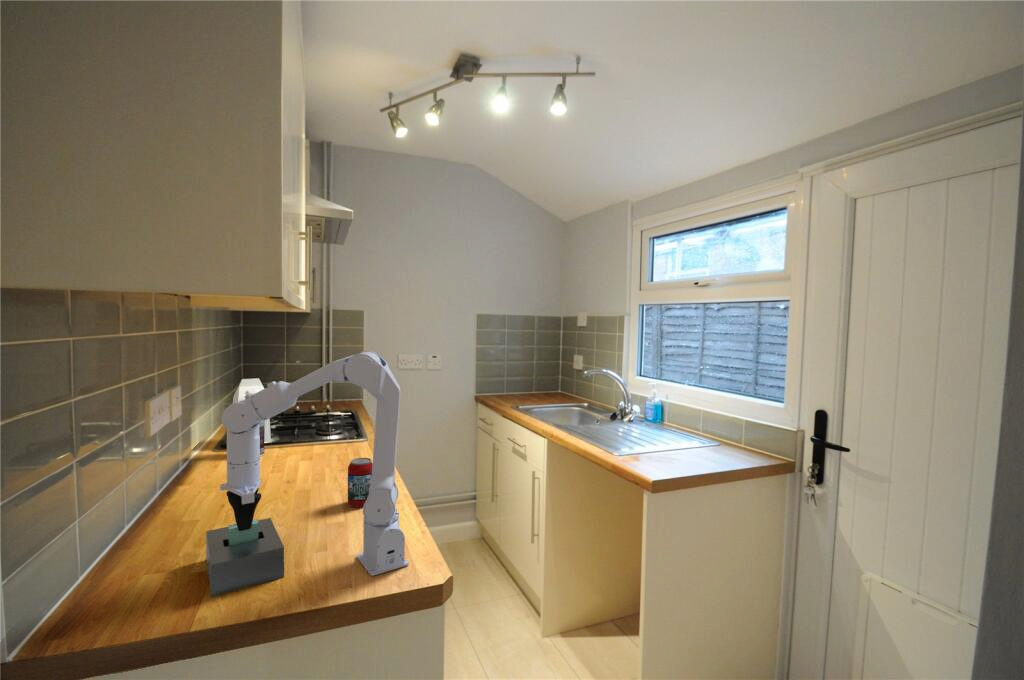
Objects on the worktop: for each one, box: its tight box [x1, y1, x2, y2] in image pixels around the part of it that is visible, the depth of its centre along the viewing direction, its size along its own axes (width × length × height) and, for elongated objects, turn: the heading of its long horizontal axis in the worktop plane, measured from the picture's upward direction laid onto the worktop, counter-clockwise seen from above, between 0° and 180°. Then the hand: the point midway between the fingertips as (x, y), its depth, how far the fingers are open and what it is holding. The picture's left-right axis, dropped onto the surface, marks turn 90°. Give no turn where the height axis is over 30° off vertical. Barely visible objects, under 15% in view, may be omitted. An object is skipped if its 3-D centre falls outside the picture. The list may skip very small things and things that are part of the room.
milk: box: [232, 377, 272, 443], centre depth 184 cm, size 12×12×26 cm
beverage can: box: [347, 457, 373, 508], centre depth 128 cm, size 7×7×12 cm
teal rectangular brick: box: [228, 519, 258, 546], centre depth 94 cm, size 2×5×4 cm, turn 126°
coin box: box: [205, 517, 285, 598], centre depth 94 cm, size 16×12×6 cm
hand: (243, 527), depth 94 cm, fingers closed on teal rectangular brick, 2 cm apart
